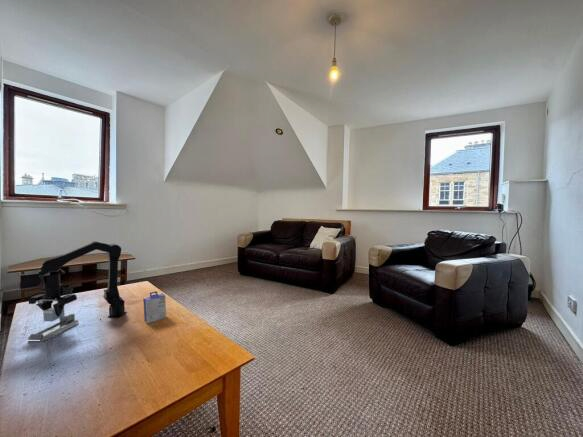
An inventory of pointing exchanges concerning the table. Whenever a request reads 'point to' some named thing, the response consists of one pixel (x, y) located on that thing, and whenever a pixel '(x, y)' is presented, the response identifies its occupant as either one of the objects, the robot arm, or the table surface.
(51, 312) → the block
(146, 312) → the ink cartridge box
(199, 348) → the table surface
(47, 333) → the din rail
